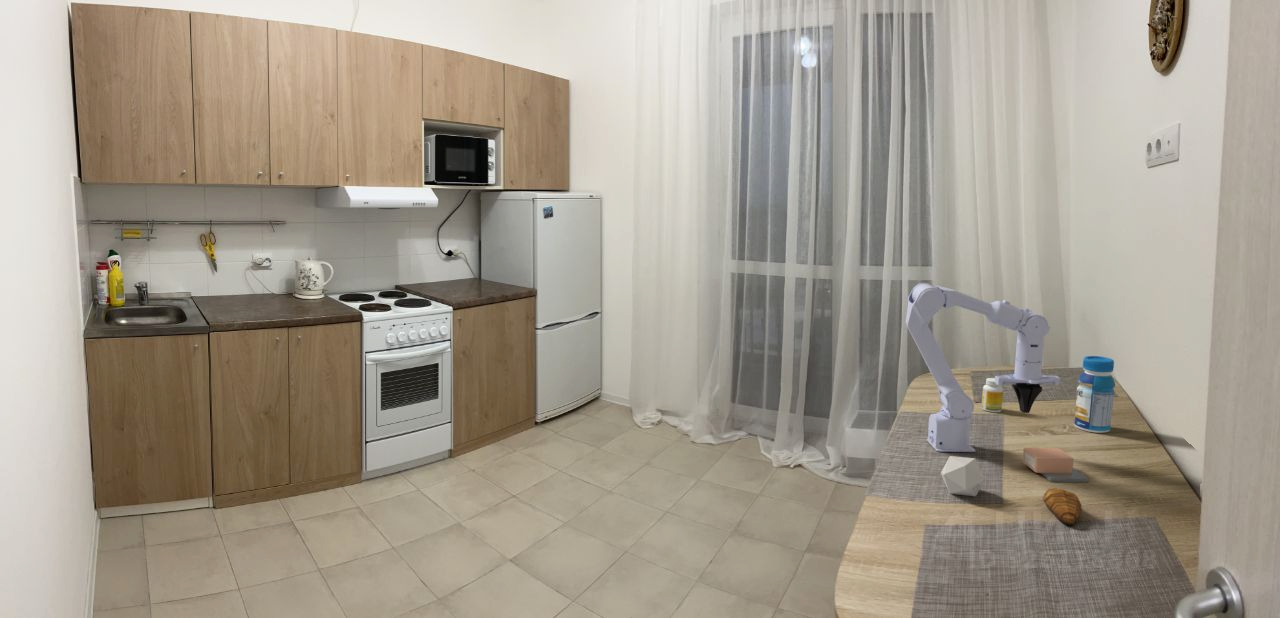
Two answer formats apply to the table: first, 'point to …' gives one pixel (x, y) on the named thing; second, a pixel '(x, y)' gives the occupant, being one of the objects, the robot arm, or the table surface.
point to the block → (1048, 460)
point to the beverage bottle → (1095, 395)
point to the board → (1065, 477)
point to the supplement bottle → (992, 396)
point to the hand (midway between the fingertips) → (1024, 411)
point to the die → (962, 476)
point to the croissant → (1063, 505)
